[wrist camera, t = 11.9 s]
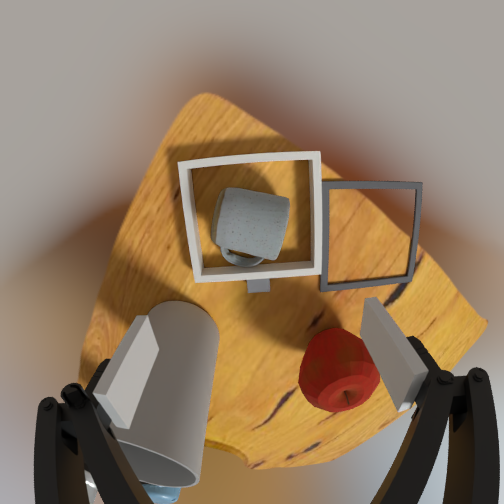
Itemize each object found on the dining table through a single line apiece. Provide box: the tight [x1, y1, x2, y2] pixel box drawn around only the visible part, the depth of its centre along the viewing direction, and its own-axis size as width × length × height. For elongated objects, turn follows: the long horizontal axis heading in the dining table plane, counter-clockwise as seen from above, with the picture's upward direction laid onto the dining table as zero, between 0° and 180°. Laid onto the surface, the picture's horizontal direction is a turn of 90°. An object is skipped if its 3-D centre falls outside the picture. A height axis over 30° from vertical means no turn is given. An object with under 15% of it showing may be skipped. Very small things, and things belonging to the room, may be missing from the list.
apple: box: [298, 328, 380, 412], centre depth 36 cm, size 12×12×14 cm
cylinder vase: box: [110, 301, 219, 488], centre depth 31 cm, size 12×12×25 cm
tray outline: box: [320, 181, 422, 292], centre depth 36 cm, size 16×16×1 cm
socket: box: [178, 151, 322, 293], centre depth 35 cm, size 17×18×2 cm
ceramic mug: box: [211, 188, 290, 267], centre depth 33 cm, size 11×8×8 cm
